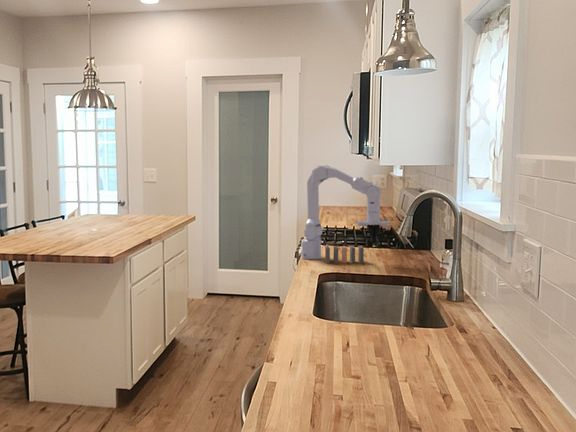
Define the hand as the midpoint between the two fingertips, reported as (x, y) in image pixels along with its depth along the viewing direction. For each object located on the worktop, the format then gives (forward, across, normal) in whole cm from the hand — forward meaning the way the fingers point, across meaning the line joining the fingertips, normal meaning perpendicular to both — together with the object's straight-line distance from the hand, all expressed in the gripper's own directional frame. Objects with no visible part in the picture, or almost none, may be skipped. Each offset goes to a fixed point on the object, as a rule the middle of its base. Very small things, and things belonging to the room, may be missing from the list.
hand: (373, 241), depth 225 cm
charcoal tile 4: (+9, -17, 0) cm, 19 cm away
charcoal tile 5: (+9, -21, 0) cm, 23 cm away
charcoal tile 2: (+9, -9, 0) cm, 13 cm away
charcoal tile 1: (+9, -6, 0) cm, 11 cm away
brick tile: (+9, -13, 0) cm, 16 cm away
